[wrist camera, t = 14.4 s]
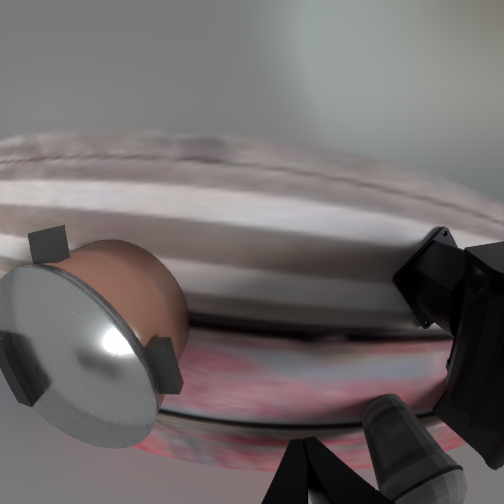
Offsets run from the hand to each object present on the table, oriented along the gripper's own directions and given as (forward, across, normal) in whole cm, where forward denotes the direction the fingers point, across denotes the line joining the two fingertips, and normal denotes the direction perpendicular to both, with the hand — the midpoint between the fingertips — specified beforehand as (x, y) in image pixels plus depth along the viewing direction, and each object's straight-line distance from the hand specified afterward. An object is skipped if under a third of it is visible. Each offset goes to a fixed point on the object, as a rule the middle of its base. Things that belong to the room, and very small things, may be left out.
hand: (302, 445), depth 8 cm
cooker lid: (+5, -13, 0) cm, 14 cm away
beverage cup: (+13, +10, -14) cm, 22 cm away
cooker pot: (+13, -12, 0) cm, 18 cm away
